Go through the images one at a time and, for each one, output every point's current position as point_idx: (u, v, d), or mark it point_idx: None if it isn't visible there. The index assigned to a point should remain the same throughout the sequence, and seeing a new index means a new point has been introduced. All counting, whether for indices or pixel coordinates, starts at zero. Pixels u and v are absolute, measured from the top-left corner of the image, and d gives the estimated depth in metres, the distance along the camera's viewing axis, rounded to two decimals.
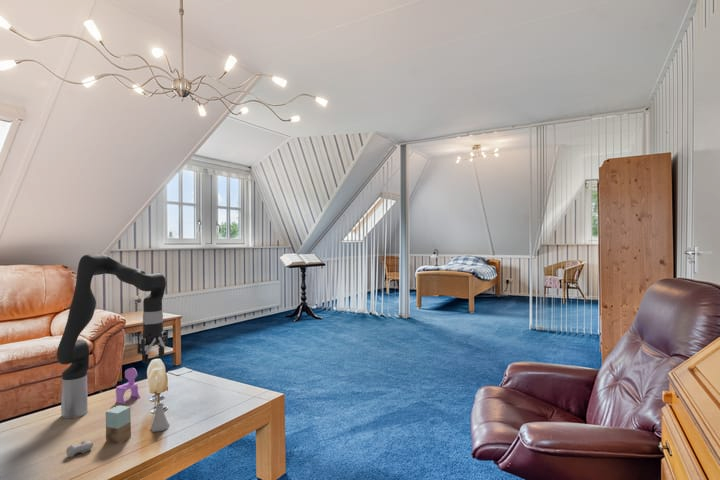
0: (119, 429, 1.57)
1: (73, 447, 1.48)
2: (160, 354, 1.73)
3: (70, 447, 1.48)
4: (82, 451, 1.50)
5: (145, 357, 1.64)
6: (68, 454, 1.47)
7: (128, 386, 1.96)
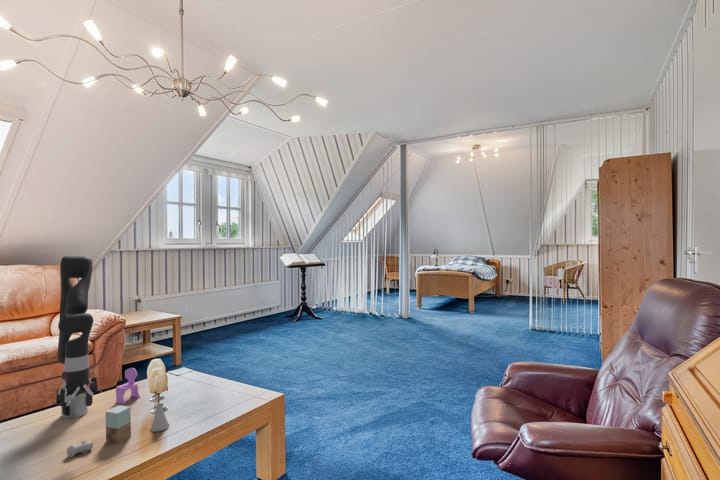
0: (119, 429, 1.57)
1: (74, 447, 1.48)
2: (87, 403, 1.54)
3: (71, 447, 1.48)
4: (83, 451, 1.50)
5: (66, 409, 1.45)
6: (69, 454, 1.47)
7: (128, 386, 1.96)
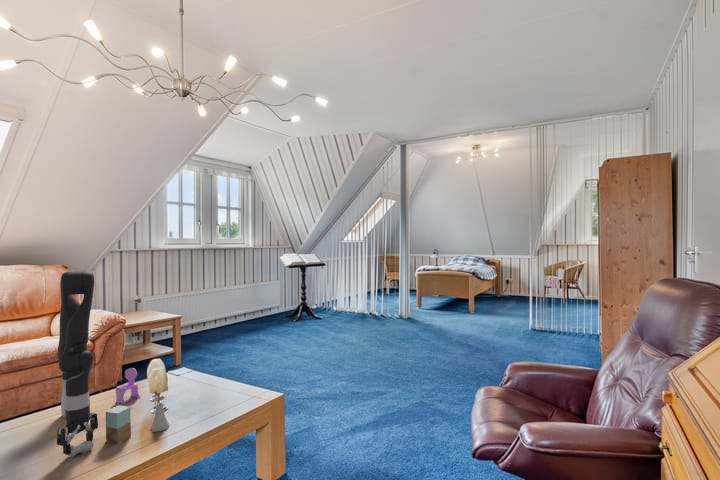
0: (119, 429, 1.57)
1: (74, 447, 1.48)
2: (88, 440, 1.54)
3: (71, 447, 1.47)
4: (83, 451, 1.50)
5: (66, 448, 1.45)
6: (69, 454, 1.47)
7: (128, 386, 1.96)
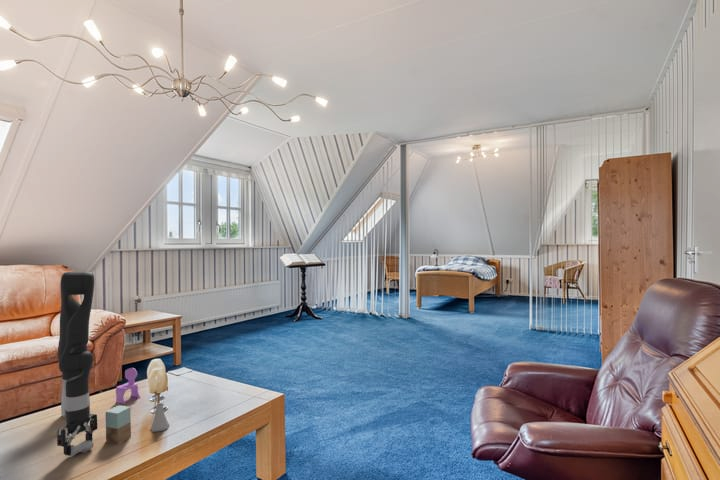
0: (119, 429, 1.57)
1: (74, 447, 1.48)
2: None
3: (71, 447, 1.47)
4: (83, 451, 1.50)
5: (67, 449, 1.46)
6: None
7: (128, 386, 1.96)
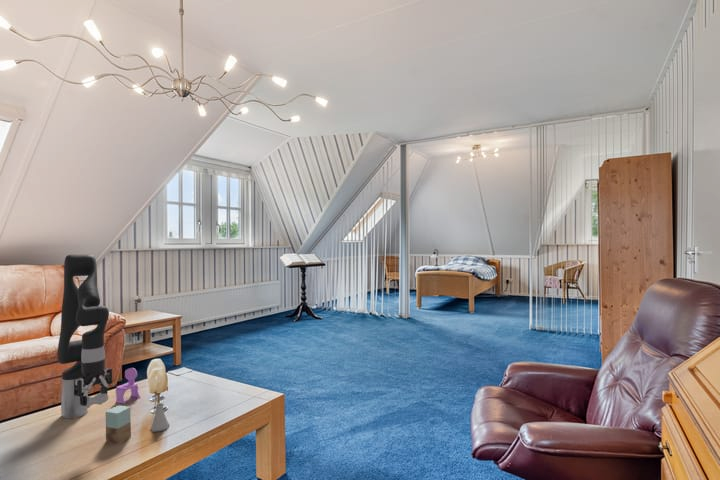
0: (119, 429, 1.57)
1: (90, 398, 1.51)
2: None
3: (87, 398, 1.51)
4: (98, 402, 1.53)
5: (83, 399, 1.49)
6: None
7: (128, 386, 1.96)
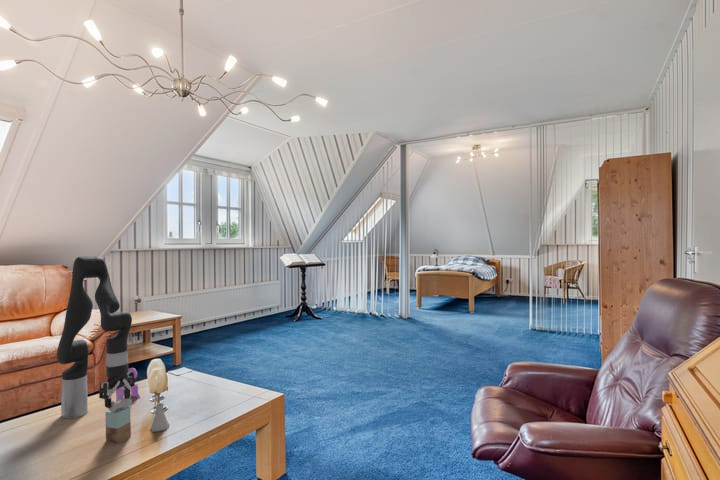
0: (119, 429, 1.57)
1: (115, 403, 1.58)
2: (126, 396, 1.64)
3: (112, 403, 1.57)
4: (123, 407, 1.60)
5: (108, 402, 1.55)
6: (110, 409, 1.57)
7: None
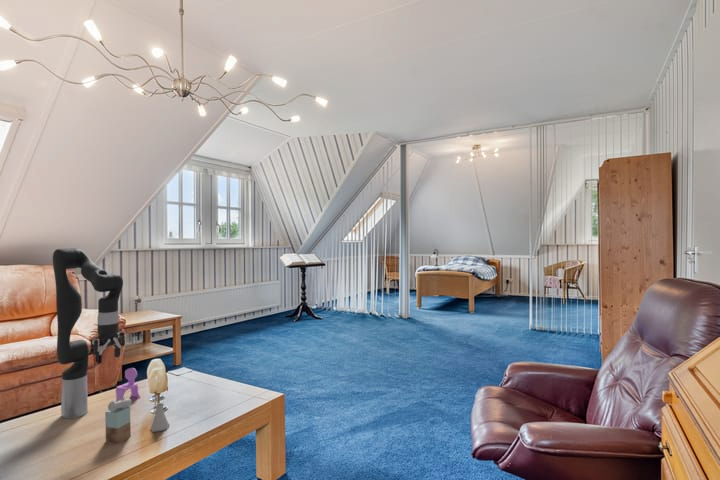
0: (119, 429, 1.57)
1: (114, 403, 1.58)
2: (116, 354, 1.73)
3: (112, 403, 1.57)
4: (122, 407, 1.60)
5: (98, 358, 1.64)
6: (110, 409, 1.57)
7: (128, 386, 1.96)
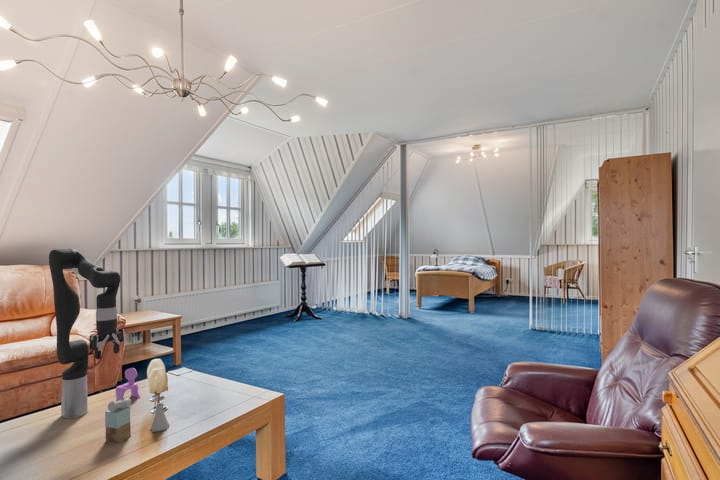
0: (119, 429, 1.57)
1: (114, 403, 1.58)
2: (115, 351, 1.74)
3: (112, 403, 1.57)
4: (122, 407, 1.60)
5: (97, 353, 1.65)
6: (110, 409, 1.57)
7: (128, 386, 1.96)
